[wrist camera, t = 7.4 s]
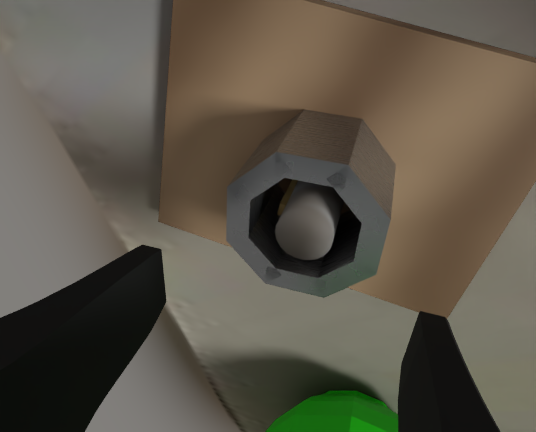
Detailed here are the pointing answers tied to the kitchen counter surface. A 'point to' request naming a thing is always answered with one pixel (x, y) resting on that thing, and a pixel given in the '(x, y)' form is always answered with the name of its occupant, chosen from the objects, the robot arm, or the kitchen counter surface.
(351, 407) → the plastic bottle
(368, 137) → the hub
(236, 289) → the kitchen counter surface
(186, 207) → the thin wooden board
